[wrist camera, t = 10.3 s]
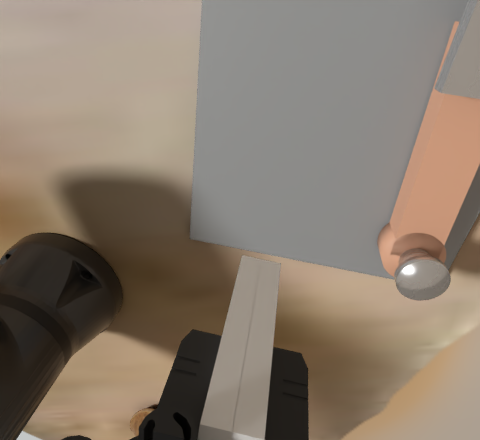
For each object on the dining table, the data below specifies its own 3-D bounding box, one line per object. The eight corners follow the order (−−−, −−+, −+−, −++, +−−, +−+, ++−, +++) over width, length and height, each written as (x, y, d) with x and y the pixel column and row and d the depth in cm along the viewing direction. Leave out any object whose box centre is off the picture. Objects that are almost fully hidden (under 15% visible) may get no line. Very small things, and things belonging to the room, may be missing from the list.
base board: (436, 283, 37) (438, 288, 37) (191, 235, 39) (189, 238, 39) (597, -17, 24) (604, -18, 23) (208, -66, 26) (205, -67, 25)
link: (426, 266, 35) (434, 285, 33) (371, 257, 36) (375, 275, 33) (526, 26, 24) (549, 28, 22) (445, 20, 25) (459, 22, 23)
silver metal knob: (429, 282, 32) (438, 304, 30) (383, 273, 33) (389, 294, 30) (447, 246, 30) (459, 267, 28) (399, 237, 31) (406, 256, 28)
